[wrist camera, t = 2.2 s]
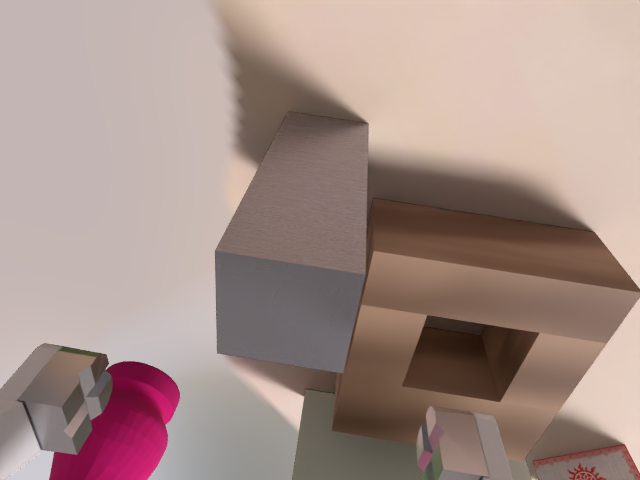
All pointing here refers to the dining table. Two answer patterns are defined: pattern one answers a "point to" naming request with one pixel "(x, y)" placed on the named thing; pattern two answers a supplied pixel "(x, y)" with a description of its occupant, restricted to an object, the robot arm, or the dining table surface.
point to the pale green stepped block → (355, 450)
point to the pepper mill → (125, 428)
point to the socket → (479, 307)
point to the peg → (297, 248)
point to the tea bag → (589, 466)
